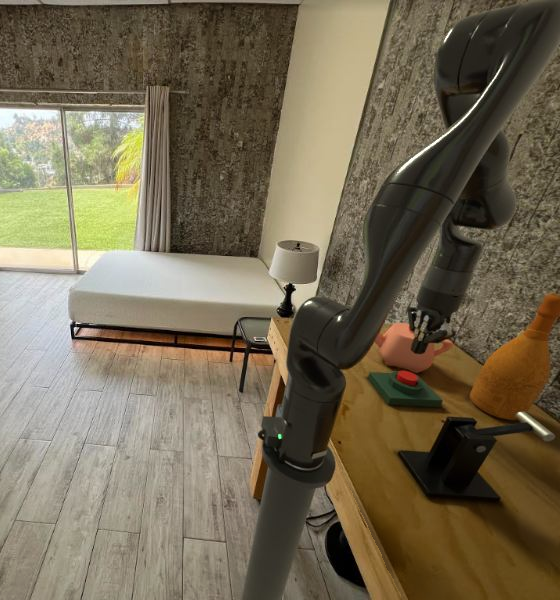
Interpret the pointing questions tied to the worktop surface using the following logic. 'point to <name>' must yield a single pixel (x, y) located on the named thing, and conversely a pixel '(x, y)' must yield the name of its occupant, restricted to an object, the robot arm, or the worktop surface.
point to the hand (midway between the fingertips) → (416, 352)
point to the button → (407, 378)
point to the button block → (403, 391)
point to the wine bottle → (518, 367)
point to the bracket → (453, 464)
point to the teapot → (406, 349)
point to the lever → (507, 429)
